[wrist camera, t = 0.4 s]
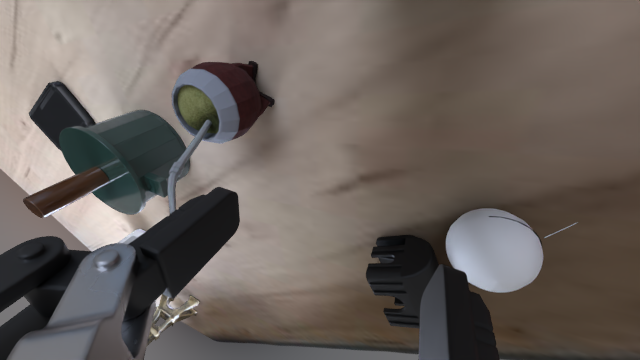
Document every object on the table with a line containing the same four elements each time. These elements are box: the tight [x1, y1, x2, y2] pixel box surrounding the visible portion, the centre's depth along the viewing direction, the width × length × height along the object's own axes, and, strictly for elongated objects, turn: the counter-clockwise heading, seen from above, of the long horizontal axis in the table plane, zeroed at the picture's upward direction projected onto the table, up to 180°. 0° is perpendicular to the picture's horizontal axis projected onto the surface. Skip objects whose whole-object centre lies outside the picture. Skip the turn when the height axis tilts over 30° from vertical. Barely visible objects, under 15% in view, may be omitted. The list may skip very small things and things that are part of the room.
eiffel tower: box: [147, 294, 199, 346], centre depth 61 cm, size 11×11×25 cm
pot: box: [84, 110, 190, 202], centre depth 36 cm, size 11×17×8 cm
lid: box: [23, 126, 146, 218], centre depth 30 cm, size 13×13×8 cm
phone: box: [29, 81, 94, 151], centre depth 44 cm, size 8×1×15 cm
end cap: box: [366, 235, 439, 328], centre depth 30 cm, size 10×7×7 cm
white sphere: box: [446, 208, 578, 293], centre depth 23 cm, size 10×7×7 cm
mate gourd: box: [168, 61, 274, 214], centre depth 22 cm, size 8×8×15 cm
